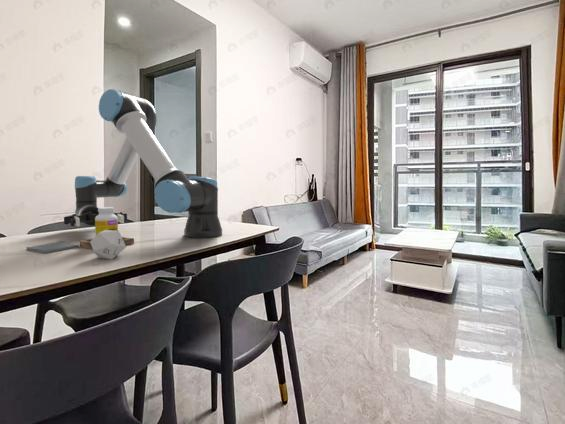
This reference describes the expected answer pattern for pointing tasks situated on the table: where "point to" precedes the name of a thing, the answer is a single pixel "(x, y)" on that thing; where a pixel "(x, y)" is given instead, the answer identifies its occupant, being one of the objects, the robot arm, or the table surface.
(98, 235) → the die
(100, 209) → the supplement bottle
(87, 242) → the walnut frame
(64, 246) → the slate coaster
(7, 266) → the table surface
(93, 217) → the robot arm
